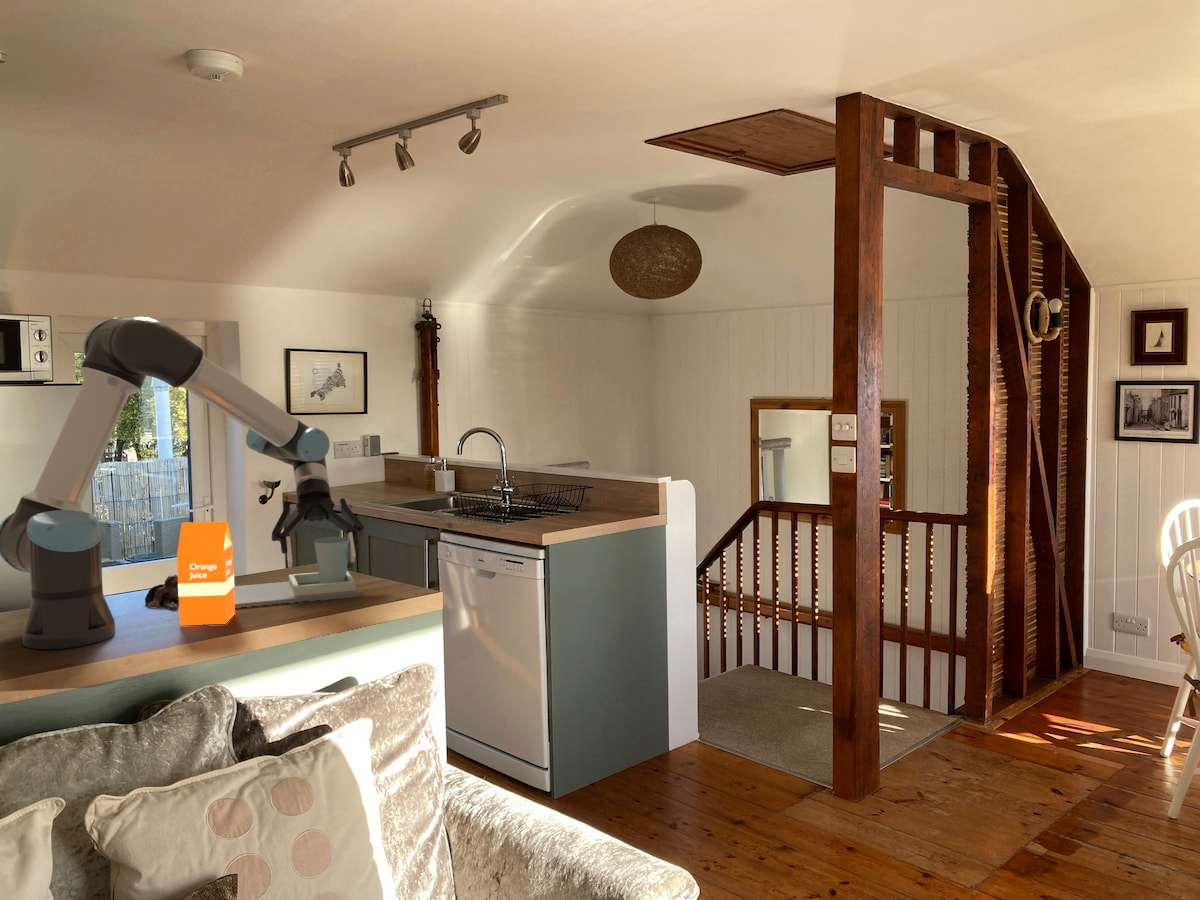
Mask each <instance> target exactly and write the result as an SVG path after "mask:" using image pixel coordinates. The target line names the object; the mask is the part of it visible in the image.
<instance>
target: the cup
mask: <svg viewBox="0 0 1200 900" xmlns="http://www.w3.org/2000/svg"><path fill="white" fill-rule="evenodd" d="M314 550H315V555H316V563H317V570H318V572H319V578H320V584H324V583H335V582H346V573H347V571H348V561H349V560H348V559H349V558H348V557H349V539H348V537H344V536H343V537H341V536H329V537H322V538H321V537H320V538H317V539H315V540H314Z"/></svg>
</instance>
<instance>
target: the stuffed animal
mask: <svg viewBox="0 0 1200 900" xmlns="http://www.w3.org/2000/svg"><path fill="white" fill-rule="evenodd" d="M144 598H145V599H144V603H145V606H147V605H148V606H147V609H152V608H151V607H158V608H160V606H159V605H162V606H163V607H166V608H165V609H167V608H169V609H175V610H177V609H179V605H178V604H171V603H172V602H174V603H179V599H177V598H179V597H178V574H173V575H172V574H171V575H168V576H167V577H166V579H165V580H164V583H163V584H162V583H161V584H158V585H154V586H153V587H151V588H149V590H148V591H147V594H146V596H145V597H144ZM169 609H168V610H169Z"/></svg>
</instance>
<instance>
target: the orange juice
mask: <svg viewBox="0 0 1200 900" xmlns="http://www.w3.org/2000/svg"><path fill="white" fill-rule="evenodd" d="M231 537H232V536H231V532H230V529H229V524H228V521H195V522H193V521H192V522H189V521H188V522H187V521H185V522H181V528H180V533H179V538H178V539H179V540H178V547H177V553H176V561H177V562H176V563H177V564H176V565H177V566H176V567H177V576H178V597H179V604H178V611H179V612H178V613H179V616H178V617H179V626H180V625H181V626H182V625H203V624H206V625H207V624H226V623H227V622H228V621H229V620H230V619H231V618H232V617H233V616H234V615H235V616H236V609H235V596H234V586H235V572H234V548H233V541H232V538H231ZM235 616H234V617H235ZM234 617H233V618H234ZM233 618H232V619H233ZM232 619H231V620H232ZM231 620H230V621H231ZM230 621H229V622H230ZM229 622H228V623H229ZM228 623H227V624H228ZM227 624H226V625H227ZM182 627H183V626H182Z"/></svg>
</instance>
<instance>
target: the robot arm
mask: <svg viewBox="0 0 1200 900" xmlns="http://www.w3.org/2000/svg"><path fill="white" fill-rule="evenodd" d="M83 353H84V359H83V361H82V364H81V366H80V367H79V371H80V372H81V375H82V377H83V382H82V384H81V386H80V389H79V391H78V393H77V395H76V397H75V399H74V402H73V404H72V406H71V408H70V410H69V413H68V415H67V417H66V420H65V421H64V424H63V426H62V429H61V431H60V433H59V435H58V436H57V437H58V438H57V440H56V441H55V443H54V446H53V448H52V450H51V453H50V455H49V457H48V458H47V461H46V464H45V466H44V468H43V470H42V472H41V474H40V477H39V478H38V481H37V484H36V486H35V488H34V490H32V491H30V492H28V493H26V494H24V495H22V496H21V498H20V499H19V501H18V504H17V506H16V508H15V510H14V512H12V513H11V514H10V515H8V516H7V517H5V518H4V519H3V520H2V522H1V523H0V557H1V559H2V560H3V561H4V562H5V563H7V564H8V565H9V566H10V567H12V568H13V569H15V570H17V571H20V572H24V573H28V574H29V576H30V591H31V604H30V606H29V610H28V613H27V617H26V620H25V621H24V622H25V623H24V626H23V629H22V645H23V646H24V647H26V648H30V649H35V650H57V649H59V650H60V649H70V648H71V649H72V648H77V647H81V646H87V645H92V644H95V643H99V642H101V641H102V642H103V641H104V640H107V639H109V638H111V637H113V636H114V635H115V634H116V621H115V619H114V616H113V614H112V612H111V611H112V610H111V609H110V607H109V605H108V602H107V600H106V598H105V596H104V589H103V587H104V586H103V565H102V563H103V562H102V545H101V544H102V531H101V529H100V523H99V522H100V521H99V519H98V518H97V516H95V515H94V514H92V513H91V512H90V513H89V512H86V511H83V508H82V502H83V500H84V498H85V496H86V495H87V494H86V493H87V491H88V489H89V487H90V485H91V483H92V480H93V478H94V475H95V473H96V472H97V469H98V466H99V465H100V461H101V459H102V457H103V455H104V452H105V451H106V448H107V446H108V443H109V441H110V439H111V437H112V434H113V432H114V430H115V428H116V425H117V424H118V421H119V419H120V417H121V415H122V411H123V409H124V407H125V405H126V403H127V400H128V398H129V397H130V396H132V395H134V394H137V393H139V392H140V391H141V388H143V387H142V386H143V384H144V382H145V379H146V377H151V378H155V379H158V380H160V381H162V382H164V383H167V384H168V385H169V386H171V387H172V388H175V389H178V388H184V389H185V390H186V391H188V392H190V393H191V394H193V395H195V396H196V397H198V398H199V399H201V400H202V401H204V402H205V403H207V404H209V405H211V406H212V407H214V408H215V409H217V410H218V411H220V412H222V413H223V414H224V415H227V416H228V417H229V418H231V419H233V420H234V421H235V422H237V423H239V424H240V425H242V426H243V427H246V428H247V429H248V430H247V433H246V435H245V436H246V437H245V442H246V443H245V444H246V446H247V447H248V448H249V449H250V450H253V451H255V452H257V453H258V454H262V455H265V456H268V457H269V458H273V459H275V460H277V461H280V462H283V463H285V464H288V465H291V466H292V467H293V474H294V480H295V488H296V489H295V490H296V498H297V499H296V500H297V501H296V502H297V503H290V501H289V500H287V501H285V502H284V506H283V510H282V513H281V514H280V516H279V518H278V520H277V523H276V524H275V525H274V528H273V529H272V532H271V540H272V542H276V541H277V542H279V543H280V549H281V554H286V559H287V567H288V568H293V553H292V545H291V537H292V536H293V534H294V533H295V532H296V531H297V530H298V529H299V528H300V527H301V526H302V525H304V523H305V522H306V521H309V522H315V521H318V522H319V521H320V522H321V521H324V520H326V521H327V522H329V523H332V524H333V525H334V526H336V527H337V528H338V529H339V530H341V531H343V532H344V533H345V534H346V535H347V538H348V539H349V550H348V552H349V557H350V563H351V564H352V563H355V562H356V556H357V555H356V550H355V549H358V547H359V539H358V536H363V534H364V532H365V531H364V530H365V526H364V524H363V523H362V522H361V521H360V520H359V518H358V517H357V516H356V515H355V514H354V512H353V511H352V510H351V509H350V507H349V506H348V505H347V501H346V499H345V498H344V497H343V498H341V499H340V500H339V501H334V500H332V496H331V489H330V484H329V483H330V482H329V477H328V475H329V474H328V470H327V461H326V456H327V454H328V452H329V450H330V445H331V442H330V439H329V436H328V435H327V433H326V432H325V431H324V430H322V429H320V428H317V427H313V426H311V427H310V426H308V425H307V424H306V423H303V422H302V421H301V420H298V419H297V418H295V417H294V416H292V415H291V414H290V413H288V412H287V411H285V409H284V410H283V409H282V408H281V407H279V406H278V405H276V404H275V403H273V402H272V401H271V400H269V399H267V398H266V397H264V396H263V395H262V394H260V393H259V392H257V391H256V390H254V389H253V388H252V387H250V386H248V385H247V384H245V382H243V381H241V380H240V379H238V378H237V377H235V376H234V375H233V374H231V373H230V372H228V371H227V370H225V369H223V368H222V367H220V365H218V364H216V363H215V362H213V361H212V360H210V359H208V358H207V357H206V355H205V350H204V349H203V348H201V346H199V345H197V344H195V343H194V342H193V341H191V340H190V339H189V338H187V337H186V336H184V335H183V334H181V333H180V332H178V331H177V330H175V329H173V328H172V327H171V326H169V325H168V324H165V323H163V322H162V321H160V320H157V319H154V318H151V317H146V316H136V317H129V318H128V317H112V318H108V319H106V320H104V321H101V322H99V323H97V324H96V325H94V326H93V327H91V329H90V330H89V331H88V333H87V335H86V336H85V338H84V342H83ZM334 509H336V510H337V511H338V512H340V513H341V514H342V516H340V515H339V514H338V513H336V510H334ZM294 511H296V512H297V513H298V514H297V516H296V517H294V519H293V520H292V521H291V522H290V523H289V524H288V525H287V526H286V523H287V522H288V520H289V517H290V515H292V514H293V513H294ZM343 517H344V518H345V519H344V518H343ZM285 526H286V527H285ZM283 529H284V530H283Z"/></svg>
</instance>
